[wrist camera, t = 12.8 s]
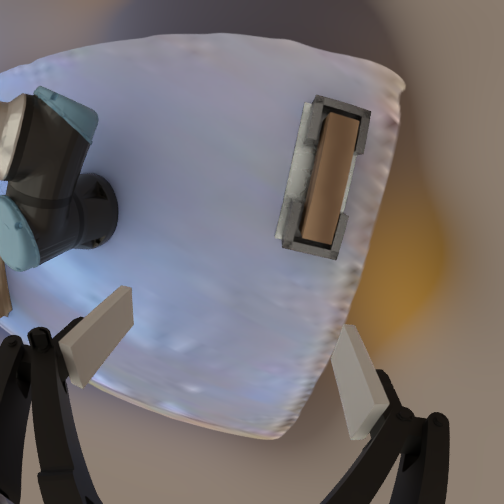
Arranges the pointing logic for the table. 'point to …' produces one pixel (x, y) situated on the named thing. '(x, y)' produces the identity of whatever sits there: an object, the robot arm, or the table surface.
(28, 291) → the table surface
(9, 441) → the robot arm
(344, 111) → the grey rectangular holder
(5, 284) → the cradle
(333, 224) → the rail
